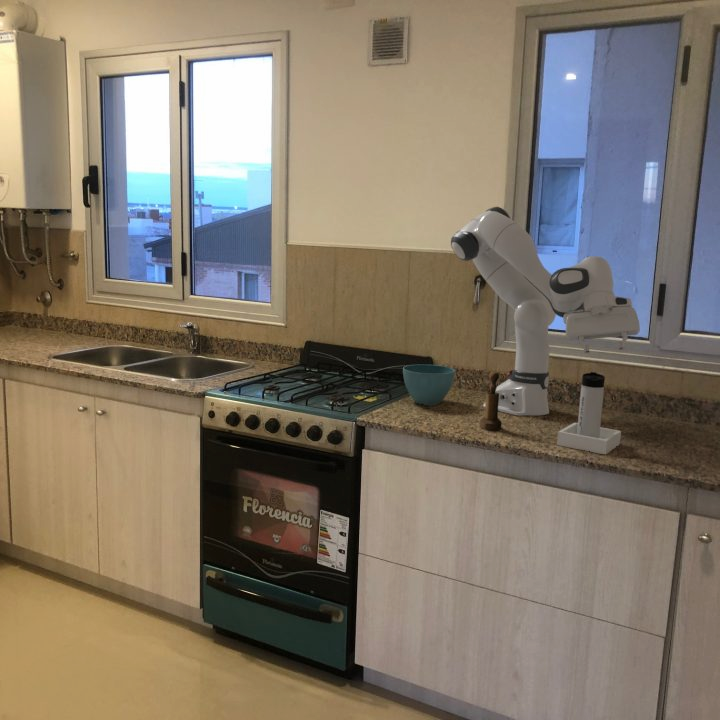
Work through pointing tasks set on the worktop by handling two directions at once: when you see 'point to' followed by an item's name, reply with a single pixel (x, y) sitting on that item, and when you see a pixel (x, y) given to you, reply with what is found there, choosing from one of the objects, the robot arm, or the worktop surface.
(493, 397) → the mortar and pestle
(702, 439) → the worktop surface
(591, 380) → the travel mug
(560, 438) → the tray
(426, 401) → the teal bowl
